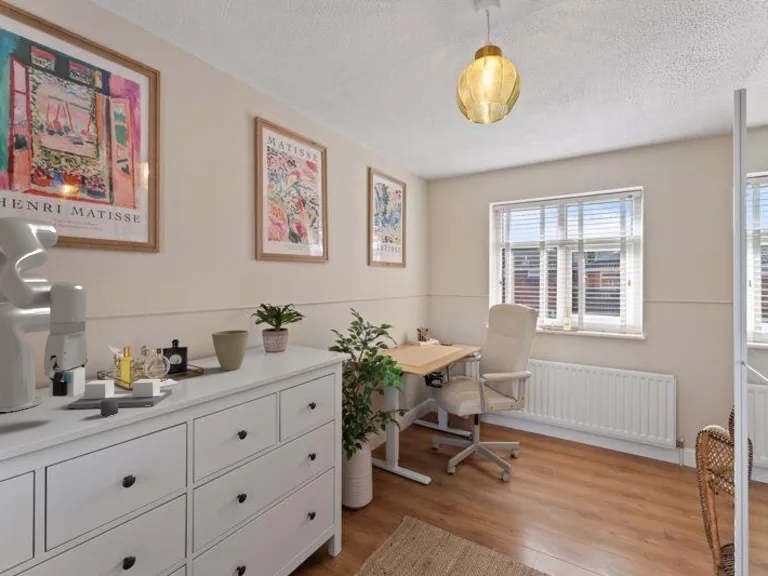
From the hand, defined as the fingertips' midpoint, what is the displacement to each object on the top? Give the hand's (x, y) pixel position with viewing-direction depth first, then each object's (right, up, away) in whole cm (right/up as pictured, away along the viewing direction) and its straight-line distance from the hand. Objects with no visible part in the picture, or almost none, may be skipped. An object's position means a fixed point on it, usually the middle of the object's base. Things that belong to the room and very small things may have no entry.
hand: (67, 391), depth 103 cm
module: (0, -1, 0) cm, 1 cm away
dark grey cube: (+10, -7, +3) cm, 13 cm away
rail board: (+6, -7, +14) cm, 17 cm away
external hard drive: (+6, -7, +30) cm, 32 cm away
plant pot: (+22, -6, +57) cm, 62 cm away
